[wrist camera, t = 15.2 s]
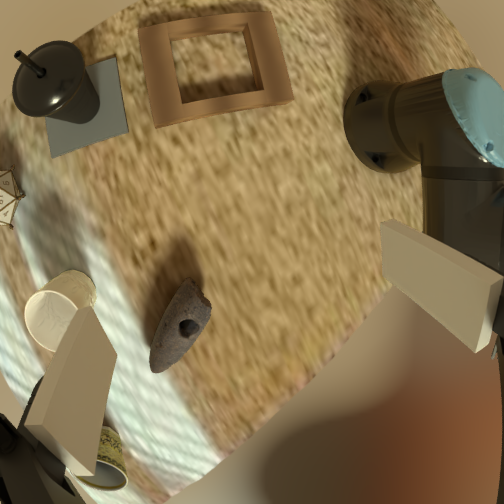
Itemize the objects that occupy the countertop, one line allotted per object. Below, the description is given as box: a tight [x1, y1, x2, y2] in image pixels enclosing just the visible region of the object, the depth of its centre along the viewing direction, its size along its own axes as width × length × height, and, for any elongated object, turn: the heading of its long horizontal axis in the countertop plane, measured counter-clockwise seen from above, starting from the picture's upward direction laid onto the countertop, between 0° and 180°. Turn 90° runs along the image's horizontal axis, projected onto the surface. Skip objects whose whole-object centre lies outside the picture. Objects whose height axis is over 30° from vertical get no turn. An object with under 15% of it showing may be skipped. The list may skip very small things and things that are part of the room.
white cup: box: [24, 270, 97, 352], centre depth 34 cm, size 8×8×10 cm
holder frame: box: [138, 11, 294, 129], centre depth 35 cm, size 18×14×3 cm
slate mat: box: [45, 57, 129, 158], centre depth 33 cm, size 11×11×1 cm
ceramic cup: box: [70, 426, 128, 491], centre depth 39 cm, size 13×10×10 cm
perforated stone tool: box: [149, 278, 212, 373], centre depth 40 cm, size 15×5×7 cm, turn 146°
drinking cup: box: [12, 41, 100, 124], centre depth 23 cm, size 8×8×20 cm
